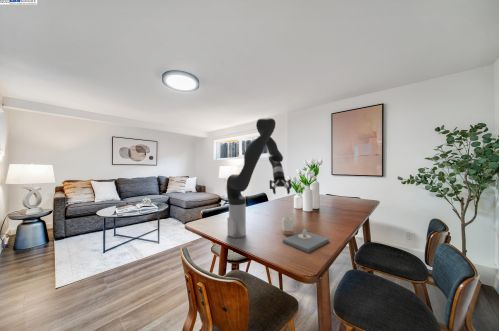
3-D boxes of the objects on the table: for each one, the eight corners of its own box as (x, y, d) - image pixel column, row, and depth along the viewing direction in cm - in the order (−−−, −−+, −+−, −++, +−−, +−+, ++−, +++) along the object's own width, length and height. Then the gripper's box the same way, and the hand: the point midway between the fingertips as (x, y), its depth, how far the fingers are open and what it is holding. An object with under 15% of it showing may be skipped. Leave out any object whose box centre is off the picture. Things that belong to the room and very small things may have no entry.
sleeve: (292, 234, 99) (292, 219, 99) (283, 234, 99) (283, 219, 99) (290, 231, 104) (290, 217, 104) (281, 231, 104) (281, 217, 104)
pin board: (308, 252, 78) (307, 240, 78) (282, 242, 89) (282, 231, 89) (328, 241, 89) (328, 230, 89) (304, 233, 100) (304, 223, 100)
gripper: (268, 170, 123) (271, 190, 111) (289, 170, 123) (294, 189, 112) (267, 178, 128) (270, 197, 117) (287, 177, 128) (292, 196, 117)
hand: (281, 193), depth 114 cm, fingers open, 8 cm apart
